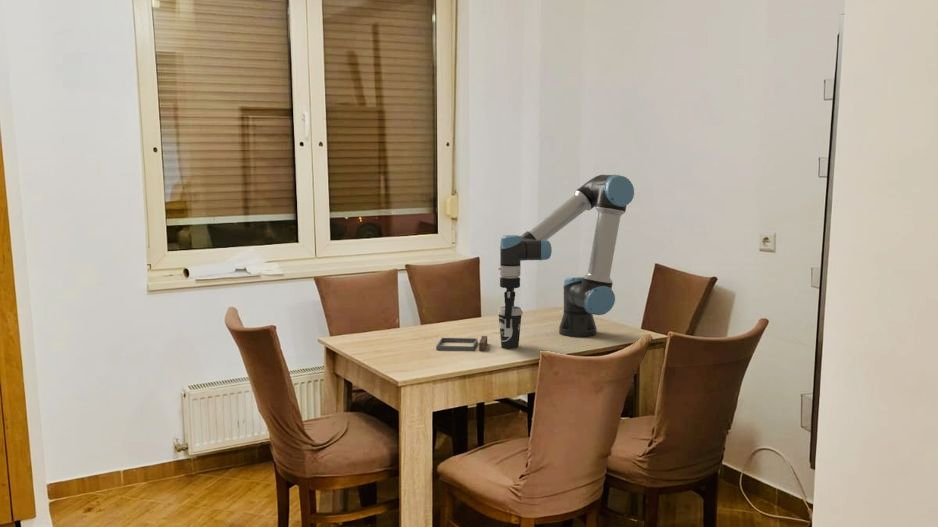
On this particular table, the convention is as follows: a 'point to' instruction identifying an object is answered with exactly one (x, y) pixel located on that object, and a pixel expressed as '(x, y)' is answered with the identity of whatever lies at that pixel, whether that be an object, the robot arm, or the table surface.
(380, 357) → the table surface
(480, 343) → the edge strip
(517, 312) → the coffee cup
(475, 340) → the frame
